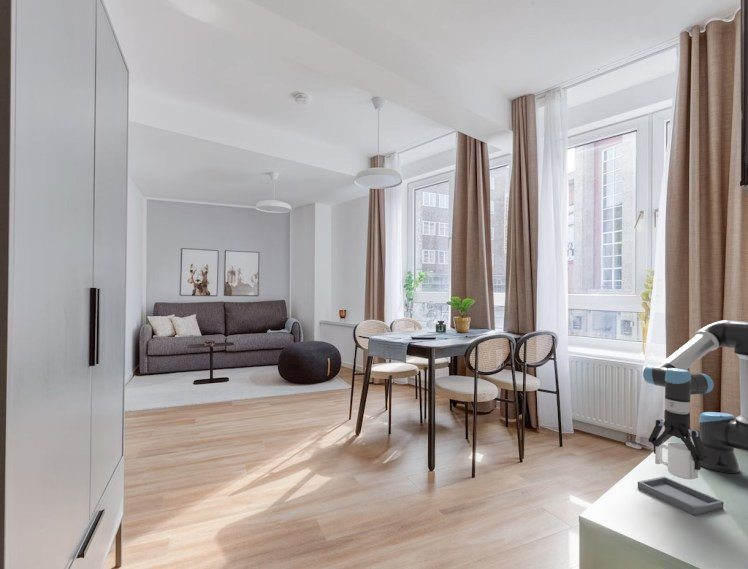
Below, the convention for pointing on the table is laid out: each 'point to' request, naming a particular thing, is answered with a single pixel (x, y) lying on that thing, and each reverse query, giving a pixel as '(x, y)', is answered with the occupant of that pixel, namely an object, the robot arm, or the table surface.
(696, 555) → the table surface
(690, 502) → the grey tray
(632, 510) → the table surface
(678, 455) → the cup
